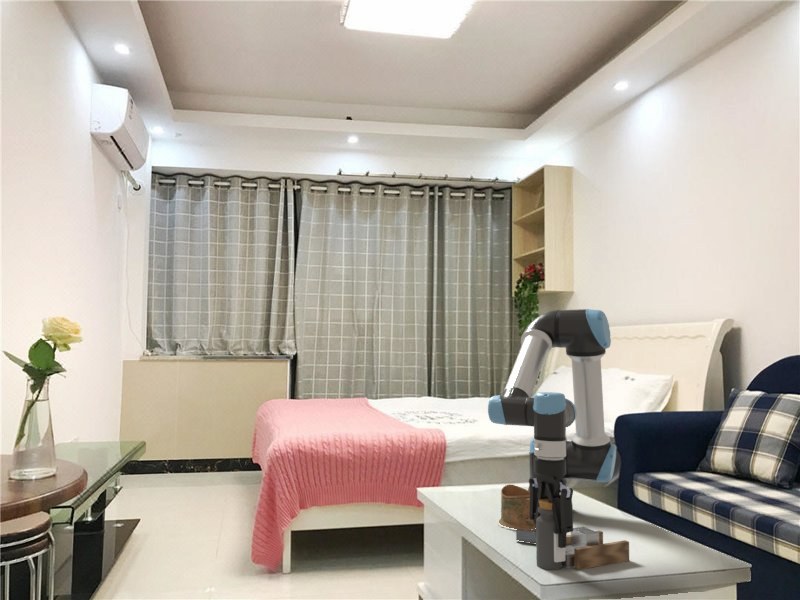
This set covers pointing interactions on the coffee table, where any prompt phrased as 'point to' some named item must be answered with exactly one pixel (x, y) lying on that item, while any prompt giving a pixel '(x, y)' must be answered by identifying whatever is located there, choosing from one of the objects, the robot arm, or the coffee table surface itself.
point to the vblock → (526, 535)
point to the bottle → (545, 536)
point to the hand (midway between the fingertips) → (550, 556)
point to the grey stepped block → (579, 543)
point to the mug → (515, 508)
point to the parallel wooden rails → (599, 553)
